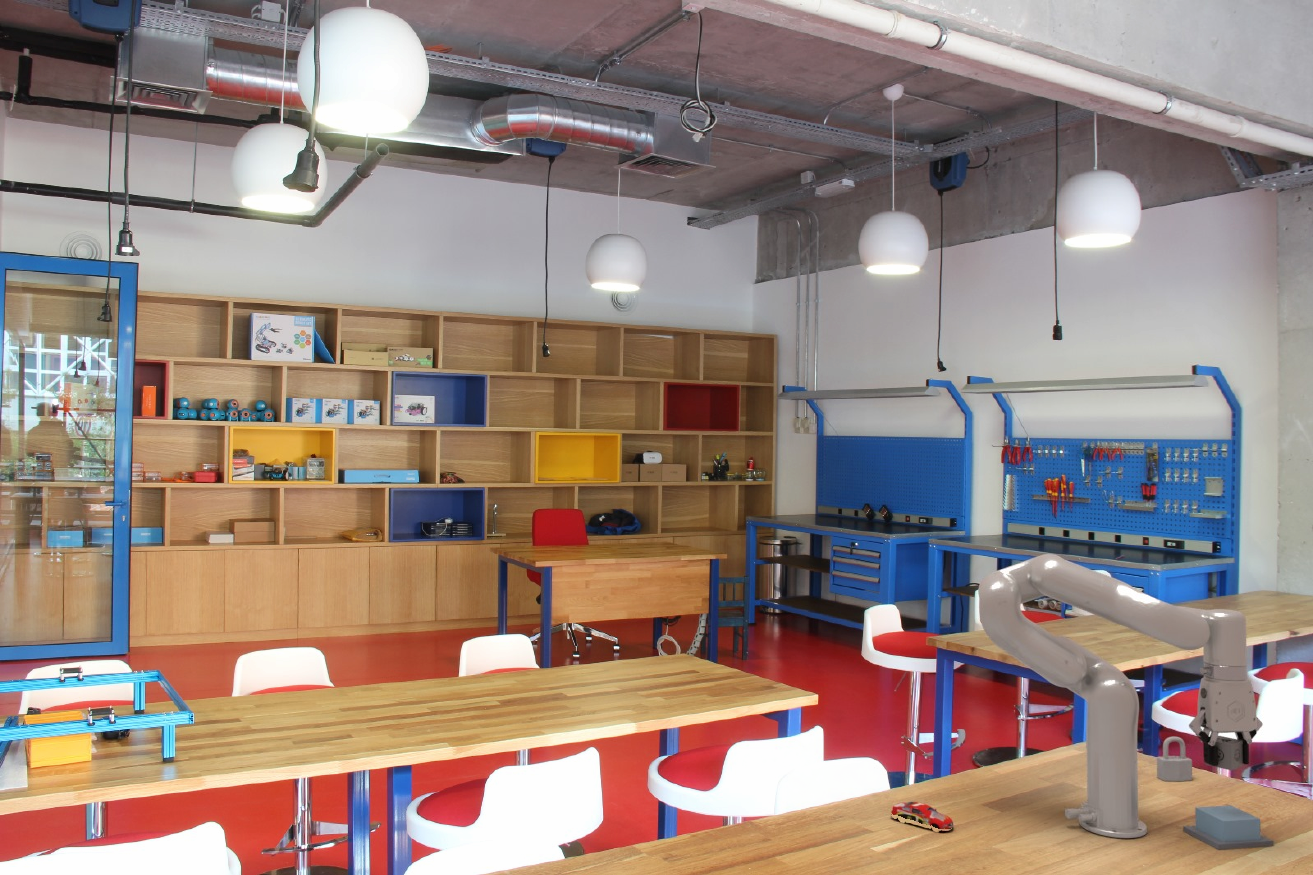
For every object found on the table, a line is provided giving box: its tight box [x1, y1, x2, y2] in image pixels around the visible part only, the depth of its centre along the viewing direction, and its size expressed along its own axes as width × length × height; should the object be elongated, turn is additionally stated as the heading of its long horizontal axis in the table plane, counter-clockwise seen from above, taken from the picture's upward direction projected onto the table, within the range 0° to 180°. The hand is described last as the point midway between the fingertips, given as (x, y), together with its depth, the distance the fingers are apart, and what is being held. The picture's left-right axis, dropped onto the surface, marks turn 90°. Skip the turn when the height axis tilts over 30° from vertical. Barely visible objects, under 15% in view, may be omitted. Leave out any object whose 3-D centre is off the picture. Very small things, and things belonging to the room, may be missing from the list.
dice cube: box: [1204, 735, 1244, 771], centre depth 201 cm, size 5×5×5 cm
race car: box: [890, 801, 954, 829], centre depth 209 cm, size 13×5×4 cm, turn 45°
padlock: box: [1156, 736, 1193, 782], centre depth 239 cm, size 7×4×10 cm, turn 95°
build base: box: [1182, 804, 1275, 851], centre depth 201 cm, size 12×10×5 cm
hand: (1226, 762), depth 201 cm, fingers closed on dice cube, 6 cm apart
